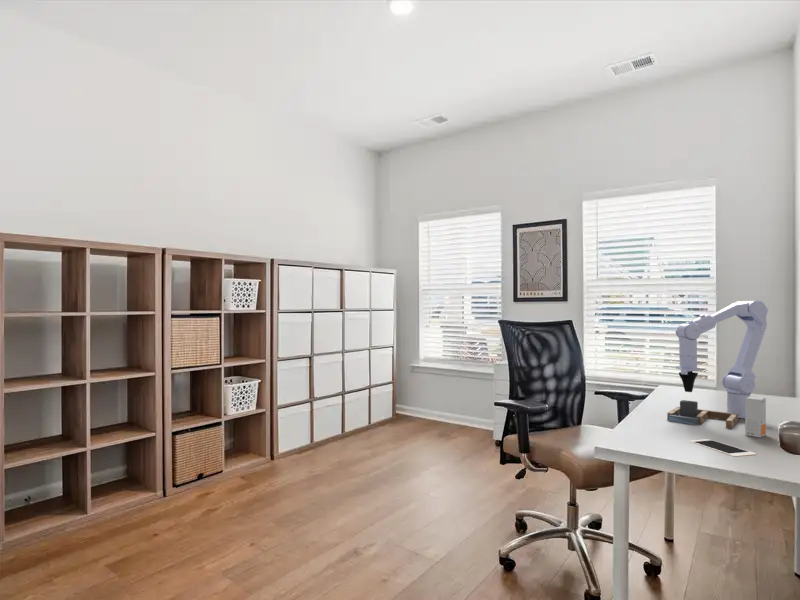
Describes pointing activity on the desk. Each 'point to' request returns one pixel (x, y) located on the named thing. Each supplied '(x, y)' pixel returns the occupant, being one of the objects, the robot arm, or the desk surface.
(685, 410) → the tall grey box
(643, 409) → the desk surface
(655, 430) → the desk surface
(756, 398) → the skincare box
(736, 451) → the cell phone
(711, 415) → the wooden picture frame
